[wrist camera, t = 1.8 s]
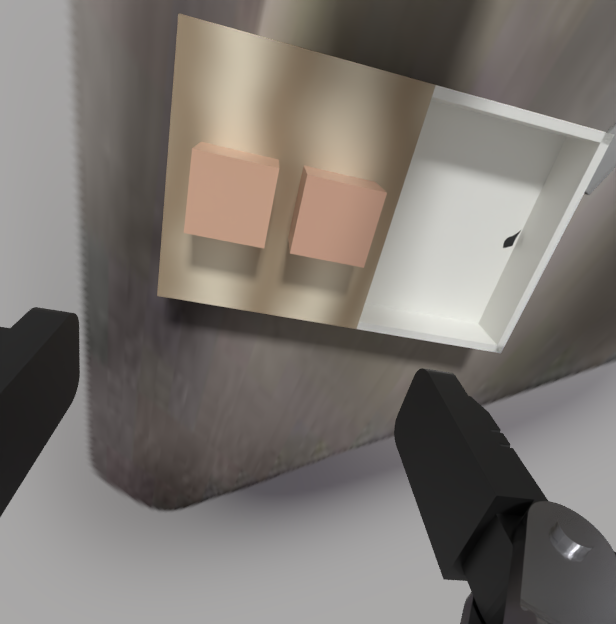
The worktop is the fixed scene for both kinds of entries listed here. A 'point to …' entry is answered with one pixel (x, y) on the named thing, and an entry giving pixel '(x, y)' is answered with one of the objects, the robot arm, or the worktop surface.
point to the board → (281, 164)
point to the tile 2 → (335, 217)
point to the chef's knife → (610, 160)
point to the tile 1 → (230, 194)
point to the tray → (477, 220)
